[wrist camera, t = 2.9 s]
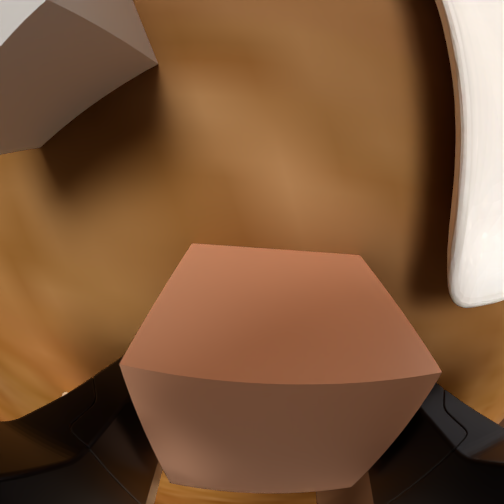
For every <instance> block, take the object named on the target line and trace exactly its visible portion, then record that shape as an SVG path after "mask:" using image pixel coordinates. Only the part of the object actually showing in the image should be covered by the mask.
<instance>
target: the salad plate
mask: <svg viewBox="0 0 504 504" xmlns="http://www.w3.org/2000/svg"><path fill="white" fill-rule="evenodd" d="M435 2H436V5H437V8H438V11H439V15H440V18H441V22H442V26H443V30H444V35H445V39H446V44H447V49H448V54H449V60H450V66H451V73H452V80H453V89H454V101H455V126H456V144H455V170H454V183H453V194H452V204H451V214H450V223H449V236H448V248H447V281H448V289H449V294H450V296H451V299H452V301H453V302H454V303H455V304H456V305H458V306H460V307H464V308H471V307H477V306H482V305H487V304H492V303H496V302H499V301H502V300H504V0H435Z"/></svg>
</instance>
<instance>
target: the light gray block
mask: <svg viewBox="0 0 504 504" xmlns="http://www.w3.org/2000/svg"><path fill="white" fill-rule="evenodd" d="M157 64H158V62H157V60H156V57H155V55H154V52H153V50H152V47H151V45H150V42H149V40H148V38H147V35H146V33H145V30H144V28H143V25H142V23H141V20H140V18H139V15H138V13H137V10H136V8H135V5H134V2H133V0H0V155H1V154H6V153H11V152H16V151H22V150H28V149H34V148H40V147H41V146H42V145H44V144H45V143H46V142H47V141H48V140H49V139H50V138H51V137H53V136H54V135H55V134H56V133H57V132H58V131H59V130H61V129H62V128H63V127H64V126H66V125H67V124H68V123H69V122H70V121H72V120H73V119H74V118H76V117H77V116H78V115H79V114H81V113H82V112H83V111H85V110H86V109H87V108H89V107H90V106H92V105H93V104H94V103H96V102H97V101H99V100H100V99H101V98H103V97H104V96H106V95H107V94H109V93H110V92H112V91H113V90H115V89H116V88H118V87H120V86H121V85H123V84H124V83H126V82H128V81H129V80H131V79H133V78H134V77H136V76H138V75H139V74H141V73H143V72H145V71H146V70H148V69H150V68H152V67H154V66H156V65H157Z"/></svg>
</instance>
